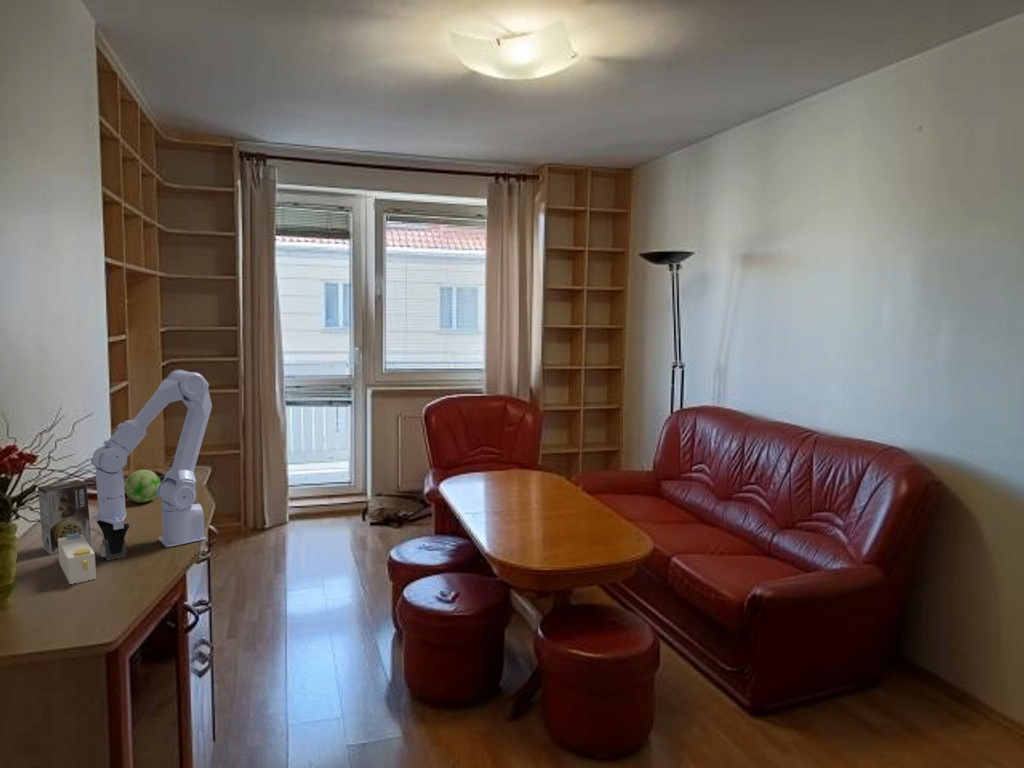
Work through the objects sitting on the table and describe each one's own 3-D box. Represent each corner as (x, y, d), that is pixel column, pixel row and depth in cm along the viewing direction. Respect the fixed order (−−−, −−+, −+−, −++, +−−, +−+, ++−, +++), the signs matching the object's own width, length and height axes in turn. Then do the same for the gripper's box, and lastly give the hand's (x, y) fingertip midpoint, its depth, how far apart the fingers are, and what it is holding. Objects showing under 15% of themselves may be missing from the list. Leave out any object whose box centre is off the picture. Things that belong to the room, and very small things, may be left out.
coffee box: (82, 539, 179) (78, 478, 177) (92, 545, 175) (88, 483, 173) (41, 549, 172) (37, 486, 170) (50, 555, 168) (46, 490, 166)
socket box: (82, 556, 167) (81, 530, 167) (97, 581, 153) (95, 552, 152) (58, 561, 164) (56, 534, 163) (71, 587, 150) (68, 557, 149)
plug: (122, 551, 171) (121, 536, 170) (126, 556, 168) (125, 540, 167) (99, 556, 167) (98, 540, 167) (102, 561, 164) (101, 545, 164)
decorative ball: (130, 508, 205) (128, 475, 204) (121, 501, 213) (119, 469, 211) (166, 502, 212) (164, 470, 211) (156, 495, 219) (154, 464, 218)
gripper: (86, 492, 169) (90, 545, 171) (97, 506, 158) (101, 563, 160) (119, 487, 173) (122, 539, 175) (132, 500, 162) (135, 556, 164)
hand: (114, 550), depth 168 cm, fingers closed on plug, 4 cm apart
